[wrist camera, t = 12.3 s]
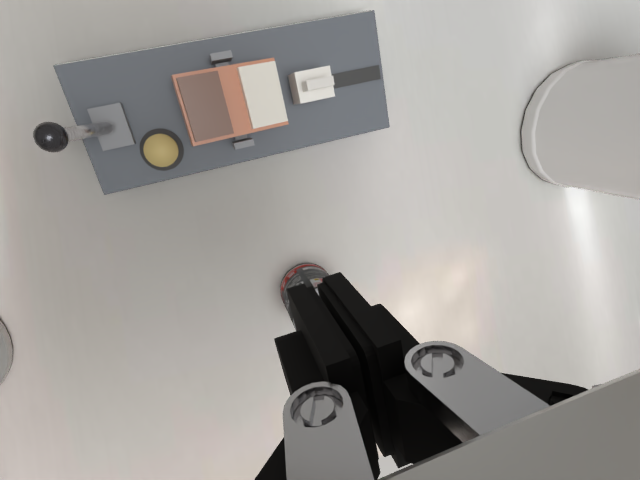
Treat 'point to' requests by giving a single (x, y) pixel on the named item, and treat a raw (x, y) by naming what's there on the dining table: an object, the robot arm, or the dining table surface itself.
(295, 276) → the pill bottle
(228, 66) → the rocker
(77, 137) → the lever
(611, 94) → the bottle
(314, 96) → the slider
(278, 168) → the dining table surface
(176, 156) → the console
